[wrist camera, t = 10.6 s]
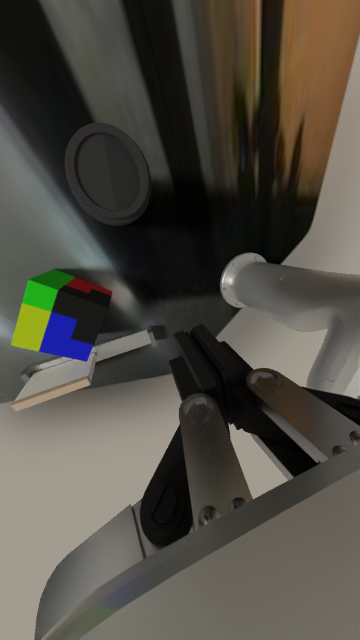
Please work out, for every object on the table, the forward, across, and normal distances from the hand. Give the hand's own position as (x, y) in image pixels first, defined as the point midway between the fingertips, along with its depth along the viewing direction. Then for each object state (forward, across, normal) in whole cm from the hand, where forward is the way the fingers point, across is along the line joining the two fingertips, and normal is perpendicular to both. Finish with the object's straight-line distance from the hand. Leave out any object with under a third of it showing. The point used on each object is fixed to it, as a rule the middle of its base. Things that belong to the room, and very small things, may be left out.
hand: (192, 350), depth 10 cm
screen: (+28, +21, +13) cm, 37 cm away
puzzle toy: (+29, +14, +2) cm, 33 cm away
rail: (+29, +15, +14) cm, 35 cm away
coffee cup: (+29, +1, -12) cm, 32 cm away
